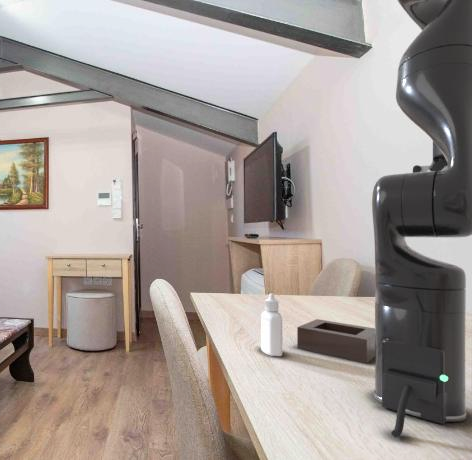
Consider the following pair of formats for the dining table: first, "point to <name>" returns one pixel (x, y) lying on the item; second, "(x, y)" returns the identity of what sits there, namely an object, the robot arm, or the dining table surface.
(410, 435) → the dining table surface
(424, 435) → the dining table surface
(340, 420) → the dining table surface
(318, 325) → the holder
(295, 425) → the dining table surface
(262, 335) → the eye dropper bottle
